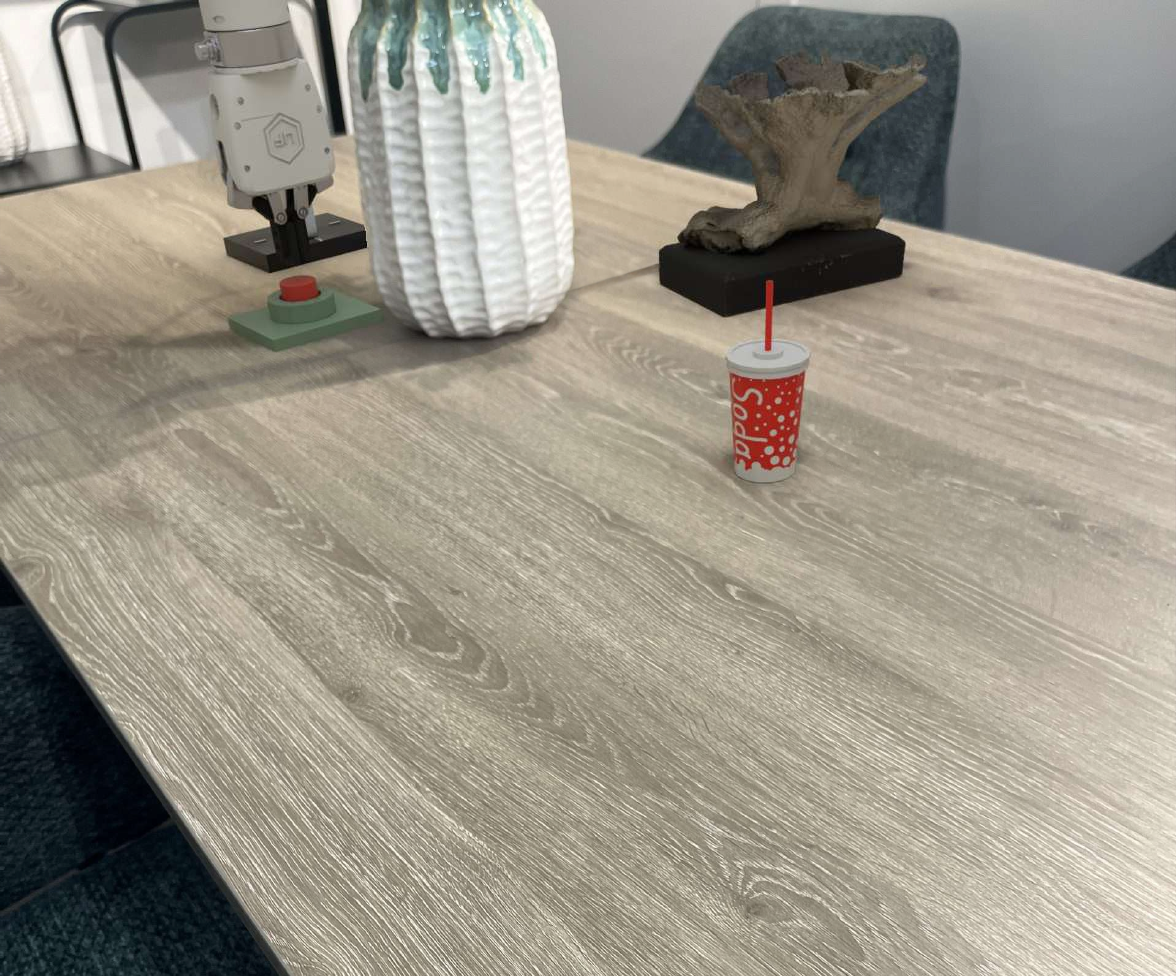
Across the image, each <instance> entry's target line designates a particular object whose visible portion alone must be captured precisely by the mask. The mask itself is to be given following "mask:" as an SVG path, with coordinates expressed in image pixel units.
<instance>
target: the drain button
mask: <svg viewBox="0 0 1176 976" xmlns="http://www.w3.org/2000/svg"><path fill="white" fill-rule="evenodd" d="M278 285H279V290H281V295H282V300H283V301H288V302H297V301H306V300H310V299H313V298H316V297H318V296H319V294H318V288H317V285H318V283H317V279H316V277H315V276H313V275H306V274H303V275H301V274H299V275H294V276H289V277H285V278H283V279H281V280H280V281H279V283H278Z"/></svg>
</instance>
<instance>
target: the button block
mask: <svg viewBox="0 0 1176 976" xmlns="http://www.w3.org/2000/svg"><path fill="white" fill-rule="evenodd" d="M317 288H318V294H319V296H318V297H316V298H313V299H310V300H306V301H297V302H288V301H283V300H282V295H281V290H280V289H277V290H276V291H274V292H272V293H270V294H269V295H267V299H266V304H267V305H266V306H263V307H260V308H257V309H253V310H250V311H246V312H242V313H239V314H238V313H237V314H235V315H231V316H227V323H228V327H229V330H231V331H233V332H235V333H236V334H238V335H240V336H243V337H245V338H246V339H249V340H250V341H252V342H255V343H256V344H258V345H260V346H262V347H265V348H267V349H268V350H271V351H272V352H274V353H279V352H282V351H285V350H288V349H292V348H295V347H299V346H302V345H307V344H308V343H313V342H316V341H319V340H322V339H326V338H329V337H333V336H336V335H340V334H343V333H346V332H349V331H353V330H357V329H360V328H363V327H366V326H370V325H373V324H377V323H380V322H383V315H382V309H381V308H380V307H377V306H375V305H372V304H369V303H367V302H365V301H362V300H360V299H357V298H355V297H352V296H349V295H348V294H345V293H342V292H340V291H337V290H335V289H334V288H331V287H329V286H327V285H322V284H317Z"/></svg>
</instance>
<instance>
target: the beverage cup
mask: <svg viewBox="0 0 1176 976" xmlns="http://www.w3.org/2000/svg"><path fill="white" fill-rule="evenodd" d="M773 308H774V307H773V281H772V280H768V281H766V307H765V319H764V320H765V323H764V338H759V339H758V338H757V339H750V340H745V341H742V342H738V343H736V344H734V345H733V346H731V347H729V348H727V350H726V353H725V356H724V360H725V361H726V363H725V367H726V369H727V370H728V373H729V390H730V391H729V393H730V409H731V410H730V411H731V428H732V447H733V450H732V451H733V465H734V472H735V474H736V475H737V477H738V478H741V479H743V480H744V481H749V482H753V483H766V484H768V483H777V482H780V481H781V482H782V481H784V480H787V479H789V478H790V477H792V476H793V475H794V474H795V471H796V466H797V465H796V463H797V454H798V445H799V435H800V426H801V418H802V417H801V416H802V410H803V409H802V408H803V399H804V388H805V380H806V370H808V369H809V366H810V364H811V361H810V359H811V353H812V351H811V350H810V349H809V347H808V346H807V345H805V344H804V343H801V342H798V341H795V340H790V339H783V338H773Z"/></svg>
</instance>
